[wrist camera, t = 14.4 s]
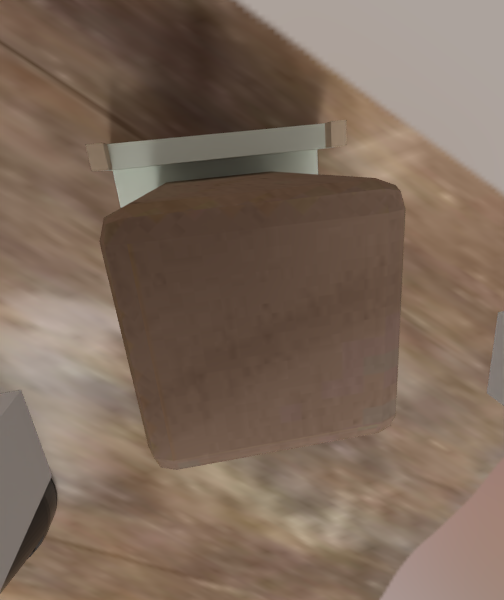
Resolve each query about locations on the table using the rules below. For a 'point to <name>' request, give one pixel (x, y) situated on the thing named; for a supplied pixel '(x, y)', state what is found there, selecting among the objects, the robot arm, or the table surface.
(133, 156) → the pale green tray
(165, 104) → the table surface
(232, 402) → the wooden block
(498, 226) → the table surface
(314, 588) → the table surface
